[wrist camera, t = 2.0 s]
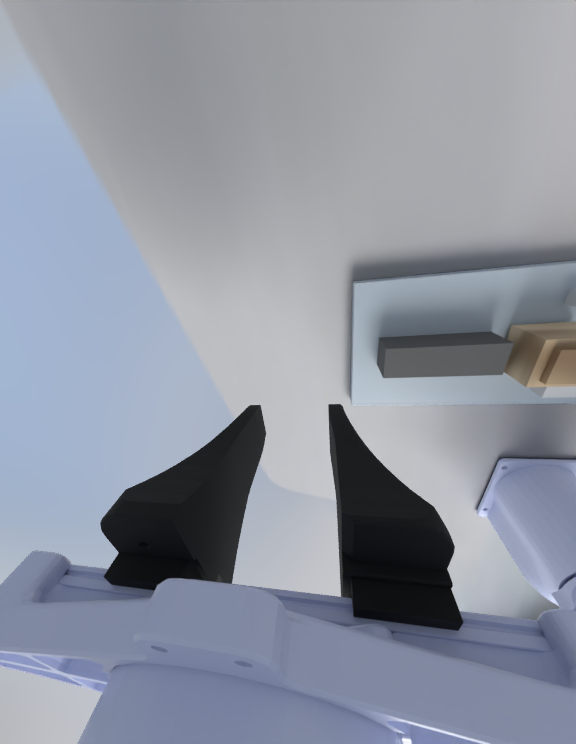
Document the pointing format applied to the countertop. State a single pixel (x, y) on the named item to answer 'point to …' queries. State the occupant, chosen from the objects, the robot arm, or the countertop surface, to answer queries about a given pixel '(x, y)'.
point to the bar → (443, 355)
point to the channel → (456, 329)
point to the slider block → (543, 354)
